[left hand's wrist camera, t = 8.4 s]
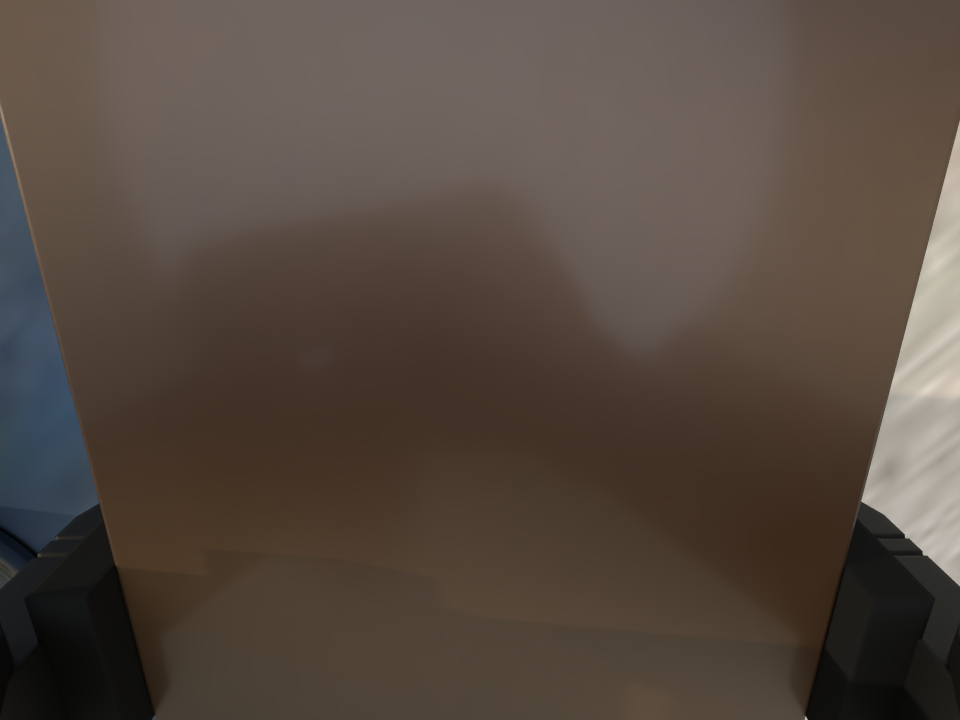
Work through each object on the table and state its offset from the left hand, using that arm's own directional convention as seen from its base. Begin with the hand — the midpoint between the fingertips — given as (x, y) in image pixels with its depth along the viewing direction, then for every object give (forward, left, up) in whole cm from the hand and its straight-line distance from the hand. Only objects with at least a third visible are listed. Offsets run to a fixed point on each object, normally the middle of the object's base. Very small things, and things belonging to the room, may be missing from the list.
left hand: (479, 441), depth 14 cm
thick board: (+21, +23, -1) cm, 31 cm away
